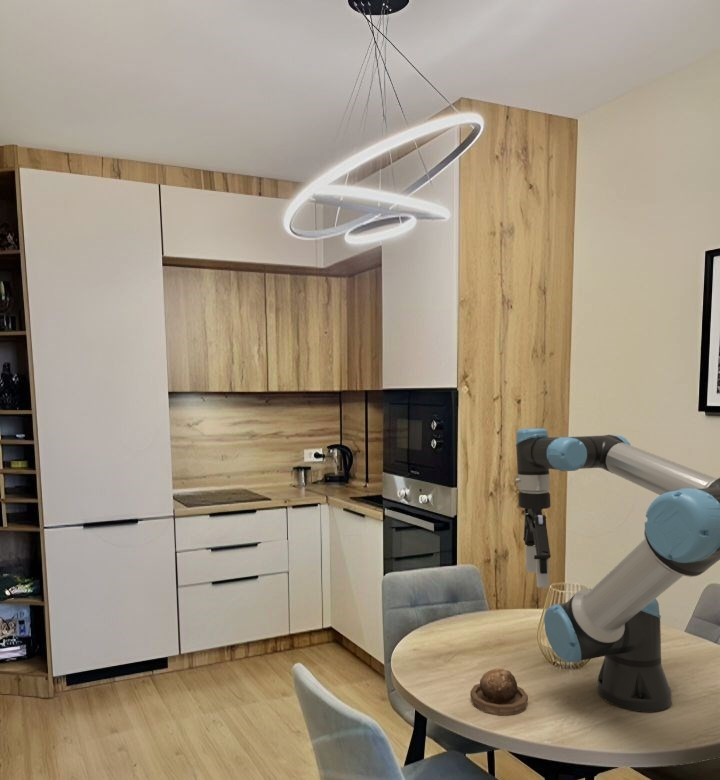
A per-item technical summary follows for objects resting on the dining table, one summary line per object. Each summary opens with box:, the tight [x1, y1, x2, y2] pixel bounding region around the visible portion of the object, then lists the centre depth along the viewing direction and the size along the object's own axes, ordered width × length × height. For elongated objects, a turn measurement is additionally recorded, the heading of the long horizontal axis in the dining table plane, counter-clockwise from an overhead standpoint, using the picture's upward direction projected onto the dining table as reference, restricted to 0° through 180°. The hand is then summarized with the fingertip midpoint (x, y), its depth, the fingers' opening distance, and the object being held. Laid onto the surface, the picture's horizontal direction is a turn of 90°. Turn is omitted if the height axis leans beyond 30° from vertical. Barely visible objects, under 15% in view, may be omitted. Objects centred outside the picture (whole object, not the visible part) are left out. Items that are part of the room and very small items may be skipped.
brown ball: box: [479, 668, 518, 703], centre depth 133 cm, size 8×8×6 cm
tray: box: [469, 683, 529, 717], centre depth 133 cm, size 12×12×2 cm
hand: (537, 579), depth 146 cm, fingers open, 13 cm apart
